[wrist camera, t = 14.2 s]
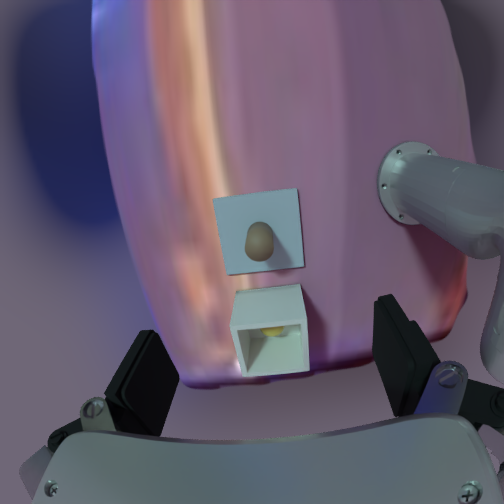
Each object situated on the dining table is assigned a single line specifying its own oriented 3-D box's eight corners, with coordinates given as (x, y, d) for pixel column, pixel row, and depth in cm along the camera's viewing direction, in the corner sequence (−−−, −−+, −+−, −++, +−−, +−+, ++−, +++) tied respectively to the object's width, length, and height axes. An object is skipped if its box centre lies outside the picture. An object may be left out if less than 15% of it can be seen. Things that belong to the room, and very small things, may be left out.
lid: (296, 187, 38) (302, 196, 32) (303, 263, 42) (308, 284, 36) (213, 198, 39) (204, 209, 33) (227, 271, 43) (221, 293, 37)
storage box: (300, 283, 43) (306, 317, 35) (303, 333, 47) (309, 370, 39) (236, 291, 44) (229, 326, 36) (246, 339, 48) (242, 376, 40)
